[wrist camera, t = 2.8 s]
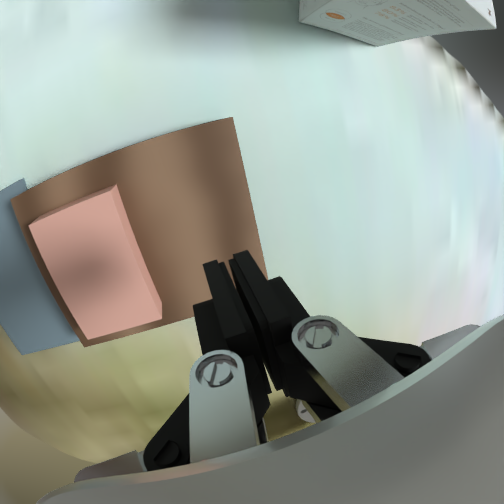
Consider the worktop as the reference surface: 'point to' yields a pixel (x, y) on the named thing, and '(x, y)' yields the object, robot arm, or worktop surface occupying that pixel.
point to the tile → (97, 264)
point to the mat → (26, 288)
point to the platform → (163, 212)
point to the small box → (397, 17)
